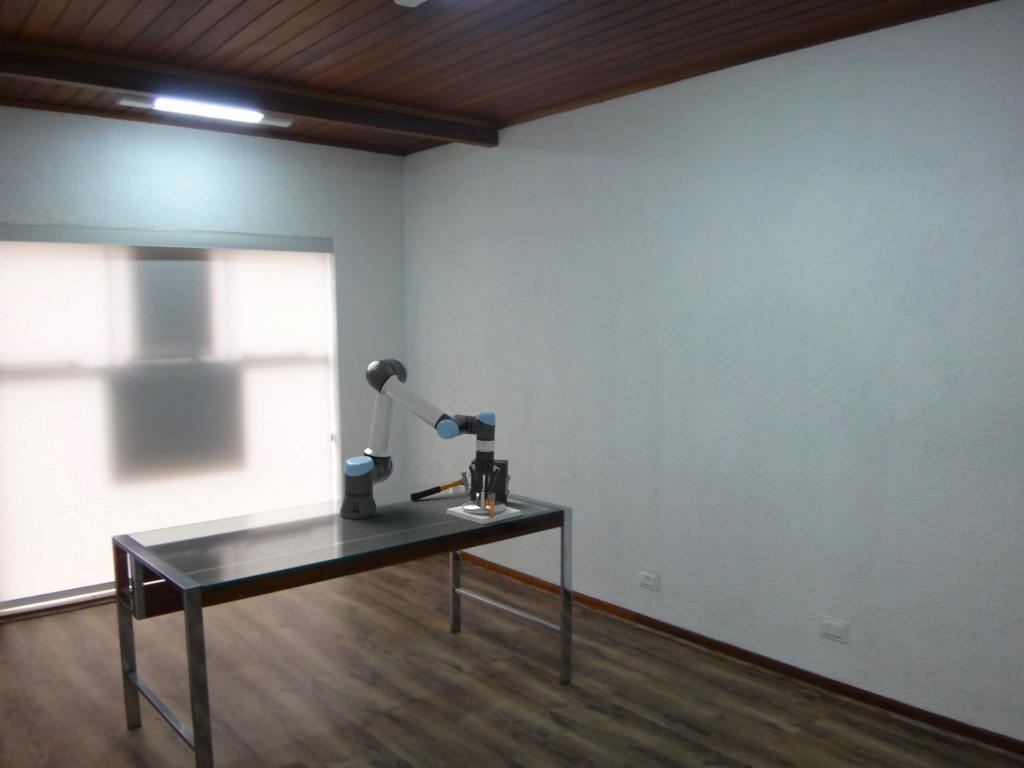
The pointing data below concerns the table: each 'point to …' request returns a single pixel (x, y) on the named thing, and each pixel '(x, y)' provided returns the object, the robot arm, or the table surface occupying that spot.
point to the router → (500, 482)
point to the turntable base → (483, 518)
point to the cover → (478, 501)
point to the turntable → (487, 510)
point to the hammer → (442, 488)
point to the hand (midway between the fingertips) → (483, 506)
